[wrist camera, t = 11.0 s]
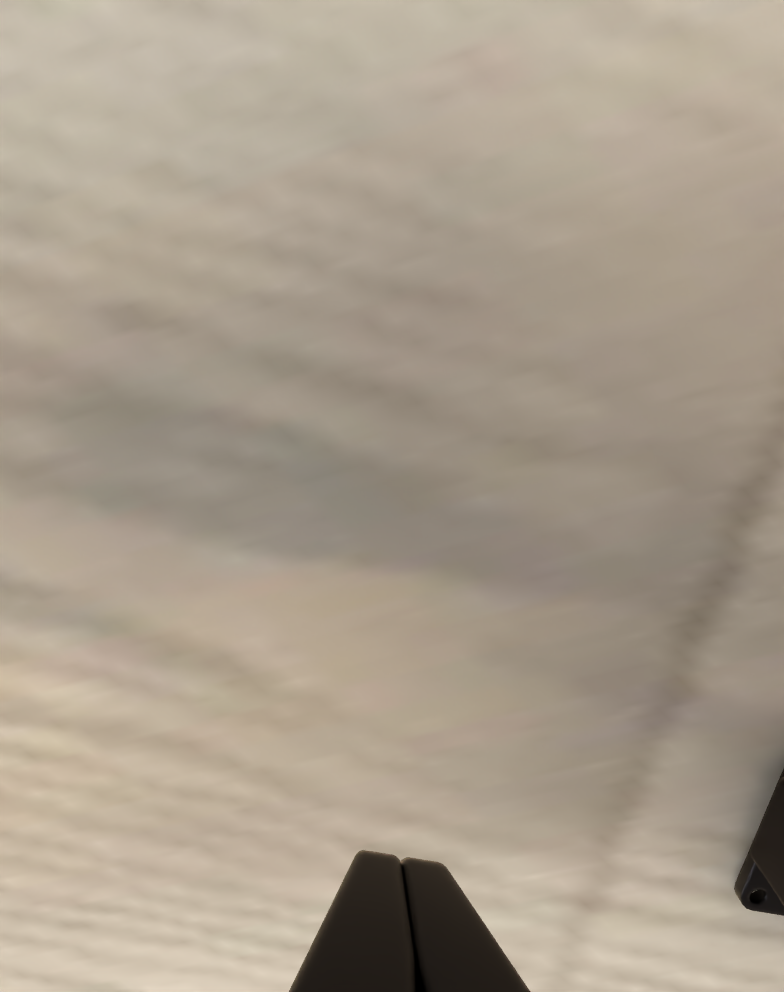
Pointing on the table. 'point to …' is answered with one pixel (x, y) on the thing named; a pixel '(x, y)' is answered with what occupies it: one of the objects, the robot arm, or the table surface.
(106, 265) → the table surface
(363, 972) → the robot arm
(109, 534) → the table surface
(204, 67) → the table surface
